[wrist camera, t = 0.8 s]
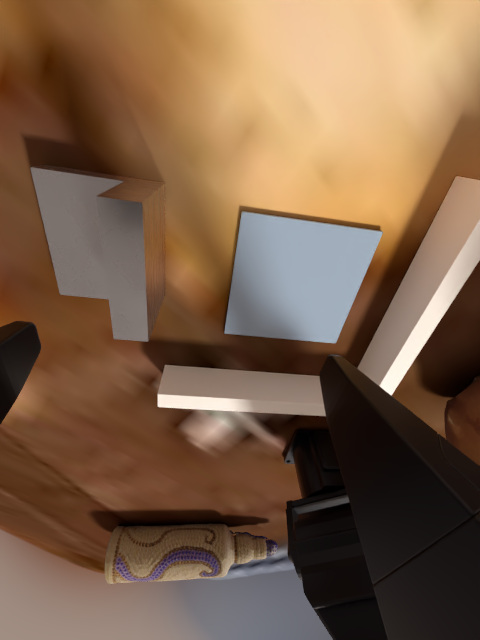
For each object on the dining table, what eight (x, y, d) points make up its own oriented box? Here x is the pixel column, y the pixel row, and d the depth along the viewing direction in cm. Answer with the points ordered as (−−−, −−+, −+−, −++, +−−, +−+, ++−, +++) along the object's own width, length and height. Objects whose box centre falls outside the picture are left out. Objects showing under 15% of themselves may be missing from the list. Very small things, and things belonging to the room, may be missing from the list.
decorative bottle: (120, 537, 47) (106, 591, 42) (114, 517, 43) (98, 573, 38) (270, 535, 50) (276, 585, 44) (278, 515, 46) (285, 568, 40)
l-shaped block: (360, 390, 29) (375, 418, 26) (165, 377, 27) (157, 406, 24) (478, 179, 18) (526, 188, 15) (164, 124, 16) (151, 123, 13)
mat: (334, 341, 25) (335, 343, 25) (224, 331, 24) (224, 333, 24) (381, 230, 20) (383, 232, 20) (241, 210, 19) (241, 211, 18)
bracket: (165, 294, 22) (148, 341, 17) (70, 284, 21) (23, 331, 16) (165, 182, 18) (142, 202, 13) (45, 164, 17) (-30, 178, 12)
